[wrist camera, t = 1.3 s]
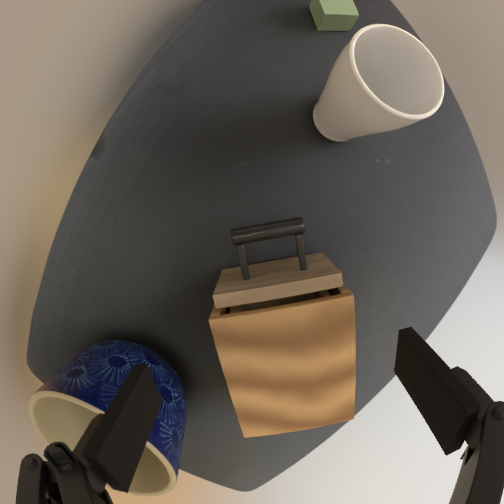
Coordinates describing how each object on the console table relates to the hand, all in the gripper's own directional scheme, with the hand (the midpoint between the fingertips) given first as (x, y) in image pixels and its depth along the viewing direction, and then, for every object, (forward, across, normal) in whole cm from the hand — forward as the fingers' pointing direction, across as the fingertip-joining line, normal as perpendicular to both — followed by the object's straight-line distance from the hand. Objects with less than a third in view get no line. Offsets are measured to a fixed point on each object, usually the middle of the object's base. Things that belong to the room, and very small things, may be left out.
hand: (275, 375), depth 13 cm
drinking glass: (+18, +10, +15) cm, 25 cm away
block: (+18, +12, +29) cm, 36 cm away
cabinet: (+18, +1, -8) cm, 19 cm away
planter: (+18, -19, -12) cm, 29 cm away
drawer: (+17, +1, -3) cm, 17 cm away
